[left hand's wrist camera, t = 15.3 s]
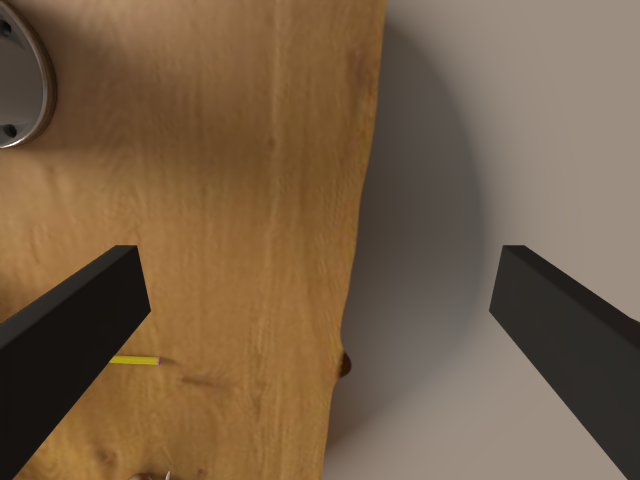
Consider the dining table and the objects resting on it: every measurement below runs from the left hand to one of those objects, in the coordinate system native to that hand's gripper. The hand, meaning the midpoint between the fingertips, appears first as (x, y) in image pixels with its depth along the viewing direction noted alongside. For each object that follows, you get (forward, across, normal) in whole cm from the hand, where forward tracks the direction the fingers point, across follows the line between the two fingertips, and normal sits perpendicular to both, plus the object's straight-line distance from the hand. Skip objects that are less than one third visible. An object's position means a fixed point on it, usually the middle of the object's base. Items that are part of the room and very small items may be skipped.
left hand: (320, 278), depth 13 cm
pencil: (+28, +31, +27) cm, 50 cm away
